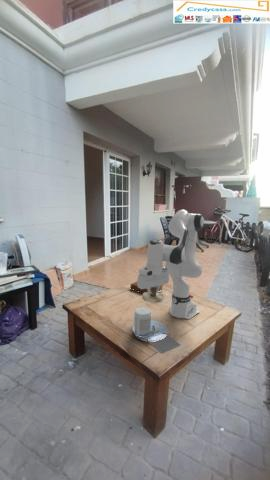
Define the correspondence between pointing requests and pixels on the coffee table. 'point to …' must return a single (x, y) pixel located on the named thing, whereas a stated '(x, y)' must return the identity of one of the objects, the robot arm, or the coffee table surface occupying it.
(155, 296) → the lid
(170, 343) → the mat
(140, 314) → the supplement tub
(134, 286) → the diary
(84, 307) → the coffee table surface
